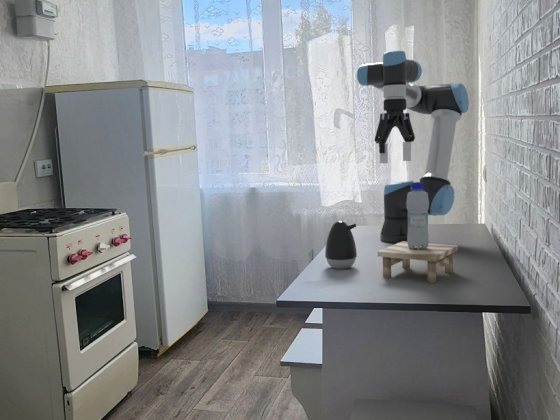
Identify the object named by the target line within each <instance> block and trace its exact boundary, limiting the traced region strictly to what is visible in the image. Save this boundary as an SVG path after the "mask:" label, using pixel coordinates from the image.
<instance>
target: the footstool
mask: <svg viewBox="0 0 560 420" xmlns="http://www.w3.org/2000/svg"><path fill="white" fill-rule="evenodd" d="M458 247H459V246H458V245H457V244H454V245H453V244H441V243H430V242H429V244H428V247H427V248H425V249H422V247H421V246H420V249H419V250H417V247H416V246H415V247H414V249H411V248H409V246H408V243H407V242H405V241H402V242H400V243H395V244H392V245H389V246H388V247H385V248H383V249H380V250H377V257H381V258H382V278H384V279H390V278H392V266H394V265H397V264H398V263H401V264H402V265H401V268H403V269H410V268H411V260H414V261H422V262H423V261H425V262H426V263H427V265H426V266H427V283H429V284H436V283H437V271H438V270H440V269H441V268H444V272H445V273H446V272H447V273H448V274H451V273H452V274H453V273H454V253H456V252H458V251H459V249H458Z"/></svg>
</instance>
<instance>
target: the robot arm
mask: <svg viewBox="0 0 560 420" xmlns="http://www.w3.org/2000/svg"><path fill="white" fill-rule="evenodd" d="M406 54H407V53H406V52H405V51H404V50H390V51H386V52H384V53H383V56H382V62H375V63H366V64H362V65H359V66H358V68H357V70H356V80H357V81H358V85H360V86H365V87H366V86H367V87H368V86H373V87H374V88H376V89H378V90H380V91H382V92H383V99H384V100H383V111H385V112H384V113H383V112H382V113H379V114H380V115H379V122H378V126H377V129H376V133H375V136H374V142H375V143H376V144H378V148H379V149H378V152H379V164H389V152H388V150H389V148H388V147H389V145H388V142H387V141H388V138H389V137H390V134H391V133H392V130H393V129H394V128H397V129H398V131H399V133H400V135H401V137H402V139H403V142H402V161H403V162H411V161H412V142H414V141H415V139H416V136H415V133H414V130H413V129H414V128H413V126H412V123H411V119H410V118H411V117H410V113H409V112H404V111H406V110H410V111H413V112H415V113H418V114H421V115H431V118H432V119H433V125H432V130H431V136H430V141H429V148H428V154H427V159H426V160H427V161H426V164H425V165H426V167H425V171H424V175H423V176H421V177H420V178H419V182H420V183H422V184H423V191H425V192H427V193H428V199H429V209H428V216H434V217H436V216H446V215H447V214H448V213H449V212H450V211H451V210H452V208H453V205H454V202H455V201H454V200H455V188H454V187H453V186H452V184H451V181H450V180H449V179H448V177H449V171H450V165H451V164H450V163H451V157H452V151H453V145H454V139H455V132H456V128H457V127H456V126H457V122H459V121H460V120H461V119H462V114H465V113H467V112H468V111H469V105H470V102H469V95H468V92H467V88H466V87H465V85H464V84H463V83H461V82H459V83H458V82H457V83H456V82H455V83H453V82H451V83H446V84H445V83H444V84H433V85H432V84H431V85H428V84H427V85H416V84H414V83H415V82H417V81H419V80H420V78H421V77H422V73H423V69H422V66H421V64H420V63H419V62H418V61H416V60H414V59H407V55H406ZM412 183H414V180H405V181H404V180H403V181H397V182H391V183H387V184H385V185H384V187H383V211H384V212H383V214H384V215H383V216H384V219H383V224H382V228H381V231H380V234H379V235H380V236H379V239H380V241H381V242H385V243H395V244H397V243H400V242H402V241H405V242H407V235H408V210H407V208H406V207H407V205H406V202H407V194H408V193H409V192H411V191H412V190H411V185H412Z"/></svg>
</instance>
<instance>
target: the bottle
mask: <svg viewBox="0 0 560 420" xmlns="http://www.w3.org/2000/svg"><path fill="white" fill-rule="evenodd" d="M411 190H412V191H411V192H409V193H408V194H407V202H406V205H407V207H406V208H407V210H408V235H407V243H408V246H409V248H411V249H414V247H415V246H416V247H417V250H419V249H420V246H421V247H422V249H425V248H427V247H428V244H429V243H430V242H429V241H430V240H429V239H430V234H429V215H428V209H429V199H428V193H427V192H425V191H423V184H422V183H420V181H415V182H414V183H412V185H411Z"/></svg>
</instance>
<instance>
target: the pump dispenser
mask: <svg viewBox="0 0 560 420" xmlns="http://www.w3.org/2000/svg"><path fill="white" fill-rule="evenodd" d="M355 228H357V223H353V224H350V225H349V224H348V223H346V222H345V221H343V220H338V221H335V222H334V223H333V224H332V226H331V228H330V229H329V232H328V235H327V238H326V243H325V252H324V257H325V258H326V261H327V264H328V265H329V267H331V268H333V269H335V270H347V269H349V268H351V267H352V266H353V265H354V264H355V262H356V260H357V259H356V258H357V257H358V252H357V246H356V241H355V238H354V235H353V232H352V230H353V229H355Z"/></svg>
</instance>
